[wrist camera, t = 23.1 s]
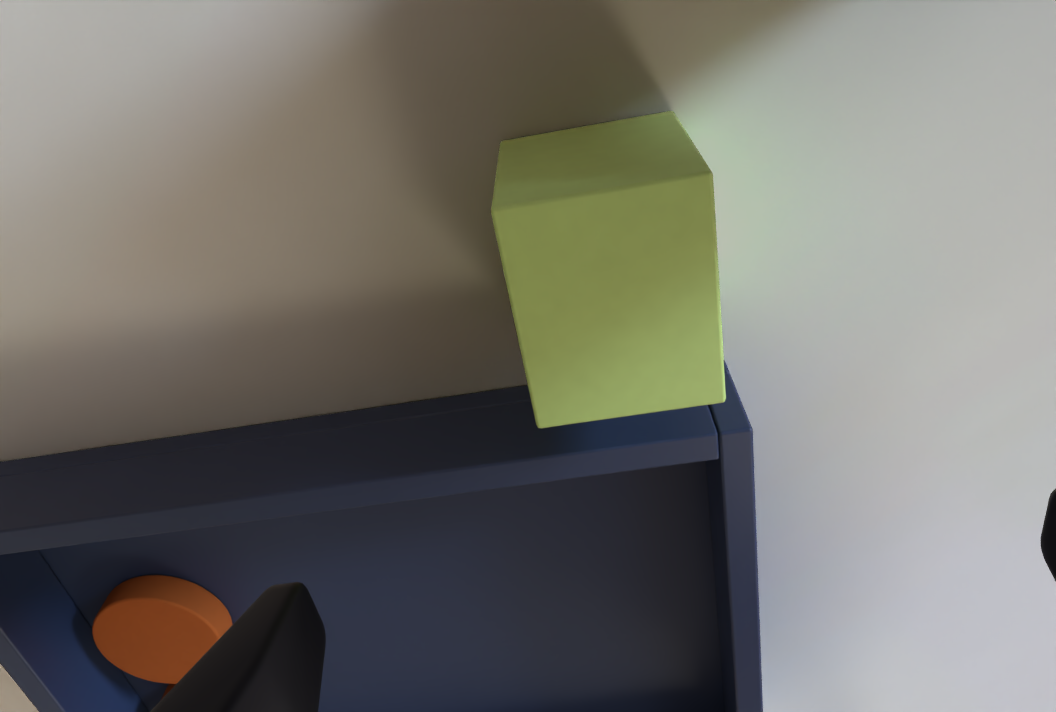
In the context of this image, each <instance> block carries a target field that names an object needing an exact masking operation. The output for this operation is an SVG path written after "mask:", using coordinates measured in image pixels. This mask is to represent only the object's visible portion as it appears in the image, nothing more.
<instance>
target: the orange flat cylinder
mask: <svg viewBox="0 0 1056 712" xmlns="http://www.w3.org/2000/svg"><path fill="white" fill-rule="evenodd" d="M232 625H233V624H232V619H231V616H230V614H229V612H228V610H227V608H226V607H225V606H224V604H223V603H222V602H221V601H220V600H219V599H218V598H217V597H216V596H215V595H213V594H212V593H211V592H209V591H208V590H206V589H205V588H203V587H201V586H199V585H197V584H195V583H193V582H190V581H187V580H184V579H181V578H177V577H172V576H165V575H144V576H138V577H134V578H131V579H129V580H126V581H124V582H122V583H121V584H119V585H118V586H116V587H115V588H114V589H113V590H112V591H111V592H110V594H109V595H108V597H107V598H106V600H105V602H104V603H103V605H102V607H101V608H100V610H99V612H98V613H97V615H96V617H95V619H94V622H93V626H92V634H93V639H94V642H95V644H96V646H97V648H98V649H99V651H100V652H101V653H102V655H103V656H104V657H105V658H106V659H107V660H108V661H110V662H111V663H112V664H113V665H115V666H116V667H118V668H119V669H121V670H123V671H125V672H127V673H129V674H131V675H133V676H135V677H138V678H141V679H144V680H148V681H153V682H158V683H167V684H177V683H178V682H179V681H180V680H181V679H182V677H183V676H184V675H185V674H186V673H187V672H188V671H189V670H190V669H191V668H192V667H193V666H194V665H195V664H196V663H197V662H198V661H199V660H200V659H201V657H202V656H203V655H204V654H205V653H206V652H207V651H208V650H209V649H210V648H211V647H212V646H213V645H214V644H215V643H216V642H217V641H218V640H219V639H220V637H221V636H222V635H223V634H224V633H225V632H226V631H227V630H228V629H229V628H230V627H231V626H232Z"/></svg>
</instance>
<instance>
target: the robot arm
mask: <svg viewBox="0 0 1056 712" xmlns="http://www.w3.org/2000/svg"><path fill="white" fill-rule="evenodd" d="M1041 549H1042V553H1043V556H1044V559H1045V561H1046V563H1047V565H1048V567H1049V569H1050V571H1051V573H1052V575H1053V577H1054V579H1055V581H1056V489H1055V490H1054V491H1053V492H1052V493H1051V495H1050V498H1049V502H1048V507H1047V511H1046V516H1045V520H1044V525H1043V530H1042V534H1041ZM325 646H326V633H325V628H324V624H323V622H322V619H321V617H320V615H319V613H318V611H317V608H316V606H315V604H314V602H313V600H312V598H311V595H310V593H309V591H308V589H307V587H306V586H305V585H304V584H303V583H300V582H293V583H285V584H278V585H273V586H270V587H269V588H268V589H266V590H265V591H264V592H263V593H262V594H261V595H260V596H259V597H258V599H257V600H256V601H255V602H254V603H253V604H252V605H251V606H250V607H249V608H248V609H247V610H246V611H245V612H244V613H243V614H242V615H241V616H240V617H239V619H238V620H237V621H236V622H235V623H234V624H233V625H232V626H231V627H230V628H229V629H228V630H227V631H226V632H225V633H224V634H223V635H222V636H221V637H220V639H219V640H218V641H217V642H216V643H215V644H214V645H213V646H212V647H211V648H210V649H209V650H208V651H207V652H206V653H205V654H204V655H203V656H202V657H201V659H200V660H199V661H198V662H197V663H196V664H195V665H194V666H193V667H192V668H191V669H190V670H189V671H188V672H187V673H186V674H185V675H184V676H183V677H182V679H181V680H180V681H179V682H178V683H177V684H176V685H175V686H174V687H173V688H172V689H171V690H170V691H169V692H168V693H167V694H166V695H165V696H164V697H163V699H162V700H161V701H160V702H159V703H158V704H157V705H156V706H155V707H154V708H153V709H152V710H151V711H150V712H318V709H319V700H320V691H321V682H322V673H323V664H324V655H325Z"/></svg>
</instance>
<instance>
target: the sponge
mask: <svg viewBox="0 0 1056 712" xmlns="http://www.w3.org/2000/svg"><path fill="white" fill-rule="evenodd" d="M491 216H492V220H493V225H494V230H495V234H496V239H497V244H498V248H499V253H500V258H501V262H502V267H503V272H504V276H505V281H506V286H507V290H508V295H509V300H510V304H511V309H512V314H513V319H514V323H515V328H516V333H517V337H518V342H519V347H520V351H521V356H522V361H523V365H524V370H525V375H526V379H527V384H528V389H529V393H530V398H531V403H532V407H533V412H534V417H535V421H536V425H537V427H538V428H547V427H554V426H561V425H568V424H575V423H582V422H590V421H597V420H604V419H611V418H618V417H625V416H632V415H639V414H646V413H653V412H660V411H668V410H675V409H682V408H689V407H696V406H703V405H710V404H717V403H723V402H725V399H726V391H725V374H724V357H723V339H722V322H721V305H720V288H719V271H718V254H717V237H716V219H715V202H714V185H713V174H712V172H711V170H710V169H709V167H708V165H707V164H706V162H705V161H704V159H703V158H702V156H701V154H700V153H699V151H698V150H697V148H696V146H695V145H694V143H693V142H692V140H691V139H690V137H689V135H688V134H687V132H686V131H685V129H684V128H683V126H682V124H681V123H680V121H679V120H678V118H677V117H676V115H675V113H674V112H673V111H667V112H662V113H656V114H650V115H645V116H639V117H633V118H628V119H622V120H617V121H611V122H605V123H600V124H594V125H589V126H583V127H577V128H572V129H566V130H561V131H555V132H549V133H544V134H538V135H532V136H527V137H521V138H516V139H510V140H504V141H502V142H500V147H499V155H498V162H497V169H496V177H495V184H494V192H493V199H492V206H491Z"/></svg>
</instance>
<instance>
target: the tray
mask: <svg viewBox="0 0 1056 712" xmlns="http://www.w3.org/2000/svg"><path fill="white" fill-rule="evenodd" d="M724 374H725V391H726V399H725V402H723V403H717V404H710V405H703V406H696V407H689V408H682V409H675V410H668V411H660V412H653V413H646V414H639V415H632V416H625V417H618V418H611V419H604V420H597V421H590V422H582V423H575V424H568V425H561V426H554V427H547V428H538V427H537V425H536V421H535V417H534V412H533V407H532V403H531V398H530V393H529V389H528V385H526V386H519V387H512V388H505V389H499V390H492V391H485V392H478V393H471V394H464V395H457V396H450V397H444V398H437V399H430V400H423V401H416V402H409V403H402V404H396V405H389V406H382V407H375V408H368V409H361V410H354V411H347V412H341V413H334V414H327V415H320V416H313V417H306V418H299V419H293V420H286V421H279V422H272V423H265V424H258V425H251V426H244V427H238V428H231V429H224V430H217V431H210V432H203V433H196V434H189V435H183V436H176V437H169V438H162V439H155V440H148V441H141V442H135V443H128V444H121V445H114V446H107V447H100V448H93V449H86V450H80V451H73V452H66V453H59V454H52V455H45V456H38V457H31V458H25V459H18V460H11V461H4V462H0V663H1V665H2V666H3V667H4V668H5V670H6V671H7V672H8V673H9V675H10V676H11V677H12V678H13V680H14V681H15V682H16V683H17V685H18V686H19V687H20V688H21V690H22V691H23V692H24V693H25V695H26V696H27V697H28V698H29V700H30V701H31V702H32V703H33V705H34V706H35V707H36V708H37V710H38V711H39V712H150V711H151V710H152V709H153V708H154V707H155V706H156V705H157V704H158V703H159V702H160V701H161V699H162V696H163V694H164V692H165V690H166V688H167V686H168V685H169V684H167V683H158V682H153V681H148V680H144V679H141V678H138V677H135V676H133V675H131V674H129V673H127V672H125V671H123V670H121V669H119V668H118V667H116V666H115V665H113V664H112V663H111V662H110V661H108V660H107V659H106V658H105V657H104V656H103V655H102V653H101V652H100V651H99V649H98V648H97V646H96V644H95V642H94V639H93V634H92V626H93V622H94V619H95V617H96V615H97V613H98V612H99V610H100V608H101V607H102V605H103V603H104V602H105V600H106V598H107V597H108V595H109V594H110V592H111V591H112V590H113V589H114V588H115V587H116V586H118V585H119V584H121V583H122V582H124V581H126V580H129V579H131V578H134V577H138V576H144V575H165V576H172V577H177V578H181V579H184V580H187V581H190V582H193V583H195V584H197V585H199V586H201V587H203V588H205V589H206V590H208V591H209V592H211V593H212V594H213V595H215V596H216V597H217V598H218V599H219V600H220V601H221V602H222V603H223V604H224V606H225V607H226V608H227V610H228V612H229V614H230V616H231V619H232V624H234V623H235V622H236V621H237V620H238V619H239V617H240V616H241V615H242V614H243V613H244V612H245V611H246V610H247V609H248V608H249V607H250V606H251V605H252V604H253V603H254V602H255V601H256V600H257V599H258V597H259V596H260V595H261V594H262V593H263V592H264V591H265V590H266V589H268V588H269V587H270V586H273V585H278V584H285V583H293V582H300V583H303V584H304V585H305V586H306V587H307V589H308V591H309V593H310V595H311V598H312V600H313V602H314V604H315V606H316V608H317V611H318V613H319V615H320V617H321V619H322V622H323V624H324V628H325V633H326V646H325V655H324V664H323V673H322V682H321V691H320V700H319V709H318V712H763V702H762V675H761V647H760V620H759V592H758V565H757V538H756V510H755V483H754V455H753V429H752V427H751V424H750V422H749V420H748V417H747V415H746V412H745V410H744V407H743V405H742V402H741V400H740V397H739V395H738V393H737V390H736V388H735V385H734V383H733V380H732V378H731V376H730V374H729V370H728V368H727V365H726V363H725V361H724Z"/></svg>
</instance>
